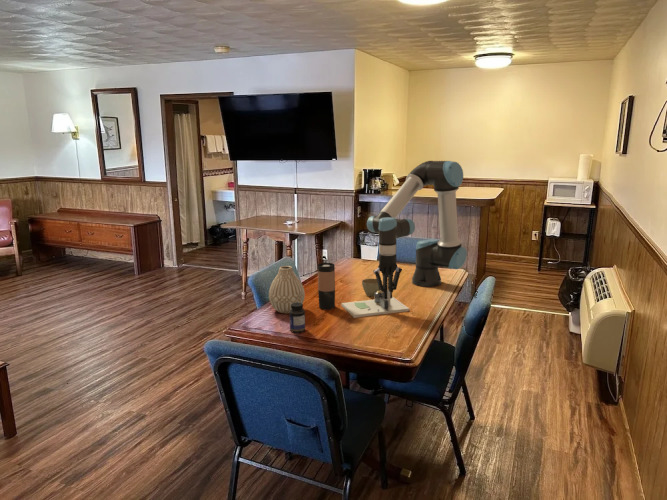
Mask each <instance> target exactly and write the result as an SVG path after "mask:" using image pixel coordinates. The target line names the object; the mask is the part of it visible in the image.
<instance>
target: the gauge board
mask: <svg viewBox="0 0 667 500" xmlns="http://www.w3.org/2000/svg"><path fill="white" fill-rule="evenodd" d="M341 307H342V308H343V309H345V311H346V312H348V314H349V315H350V316H351V317H352V318H354V319H355V318H364V317H372V316H381V315H388V314H395V313H397V314H398V313H402V312H405V313H406V312H409V311H410V307H408V306H406V305H405V304H404V303H403V302H401V301H400V300H398V299H397V298H396V297H394V296H392V298H391V299H390V307H388V309H384V308H383V307H382V306H381V305H380V304H378V303H375V302H374V299H366V300H359V301H358V300H356V301H349V302H342V303H341Z"/></svg>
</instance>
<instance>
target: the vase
mask: <svg viewBox="0 0 667 500" xmlns="http://www.w3.org/2000/svg"><path fill="white" fill-rule="evenodd" d="M304 288H305V287H304V286H303V283H302V281H301V280H300V279H299V277H298V276H297V275H296V273H295V272H294V269H293V267H292V266H291V265H282V266H280V267H279V268H278V273H277V274H276V276H275V277H274V279H273V280H272V282H271V284H270V287H269V291H268V300H269V302H270V305H271V307H272V308H273V309H274V310H275V311H277V312H278V313H281V314H290V313H289V312H290V310H291V309H292V308H291V304H292V303H296V302H299V303H302V304H303V305H304V301H305V296H306V295H305V289H304Z"/></svg>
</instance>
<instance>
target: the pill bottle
mask: <svg viewBox="0 0 667 500" xmlns="http://www.w3.org/2000/svg"><path fill="white" fill-rule="evenodd" d="M303 307H304V303H303V304H302V303H299V302H296V303H292V304H291V308H292V309H291V310H290V312H289V313H288V314H289V331H290V332H291V333H294V334H301V333H303V332H305V330H306V311H305V310H304V308H303Z"/></svg>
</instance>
